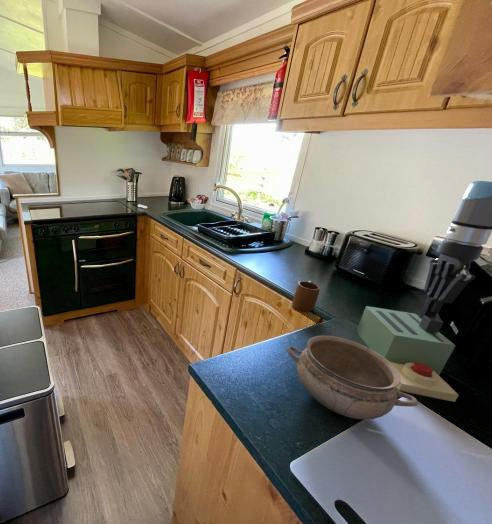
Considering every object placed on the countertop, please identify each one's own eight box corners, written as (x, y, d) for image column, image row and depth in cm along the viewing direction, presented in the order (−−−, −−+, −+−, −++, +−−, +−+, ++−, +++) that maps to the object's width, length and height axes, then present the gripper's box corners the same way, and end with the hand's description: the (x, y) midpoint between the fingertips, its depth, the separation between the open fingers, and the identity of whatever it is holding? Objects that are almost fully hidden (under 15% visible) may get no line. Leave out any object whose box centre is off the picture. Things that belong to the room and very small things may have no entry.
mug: (295, 296, 120) (300, 276, 117) (315, 302, 117) (322, 281, 113) (290, 307, 111) (296, 285, 108) (312, 314, 107) (319, 291, 104)
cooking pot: (267, 395, 69) (280, 353, 64) (288, 357, 83) (299, 320, 78) (403, 466, 54) (430, 418, 50) (400, 405, 68) (421, 364, 64)
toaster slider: (430, 327, 84) (435, 316, 82) (437, 333, 81) (443, 322, 80) (418, 325, 84) (423, 314, 83) (425, 331, 82) (430, 320, 80)
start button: (424, 369, 76) (427, 364, 75) (433, 378, 73) (436, 373, 72) (408, 366, 77) (411, 361, 76) (417, 375, 73) (419, 370, 73)
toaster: (403, 339, 95) (415, 313, 92) (439, 375, 80) (455, 345, 76) (355, 331, 98) (366, 305, 94) (381, 364, 83) (395, 334, 79)
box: (430, 376, 79) (436, 364, 78) (454, 402, 71) (462, 389, 69) (380, 367, 81) (385, 355, 80) (398, 390, 73) (405, 378, 72)
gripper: (430, 234, 82) (398, 306, 91) (465, 247, 70) (425, 328, 79) (461, 237, 81) (426, 310, 89) (503, 251, 69) (458, 334, 77)
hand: (425, 319), depth 84 cm, fingers closed
